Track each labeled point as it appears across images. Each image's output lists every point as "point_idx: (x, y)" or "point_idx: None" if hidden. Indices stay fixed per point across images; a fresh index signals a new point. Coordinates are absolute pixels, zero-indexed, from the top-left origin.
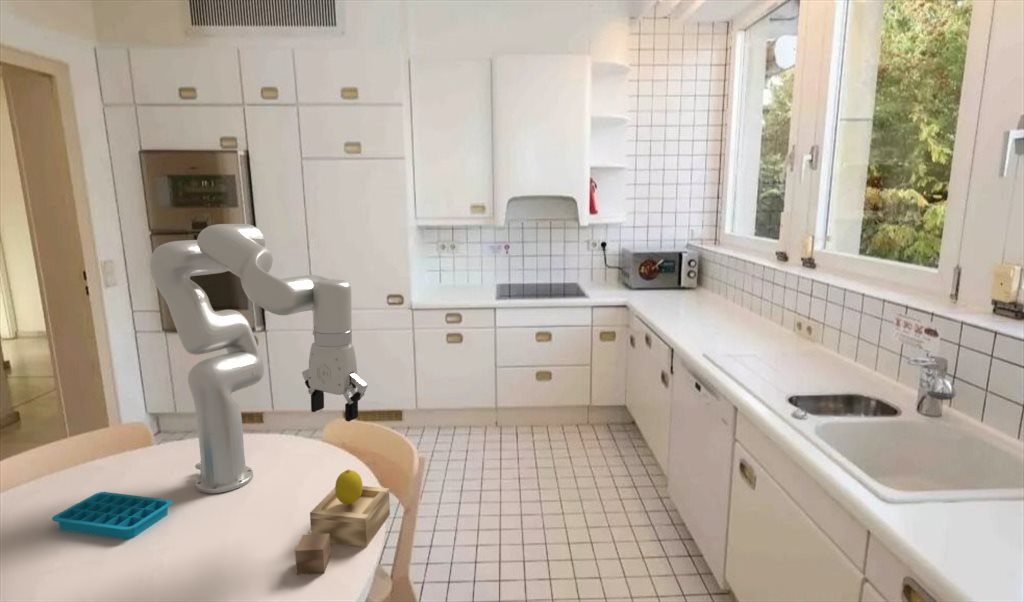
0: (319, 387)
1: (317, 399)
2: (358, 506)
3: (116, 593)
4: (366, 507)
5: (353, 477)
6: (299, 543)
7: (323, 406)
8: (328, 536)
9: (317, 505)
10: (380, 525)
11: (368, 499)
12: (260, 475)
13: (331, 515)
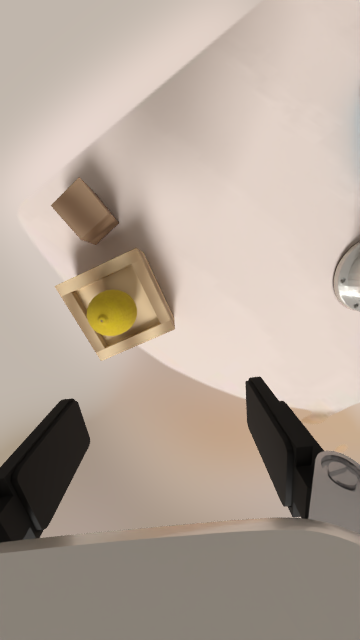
0: (192, 585)
1: (269, 440)
2: None
3: (256, 5)
4: None
5: (88, 316)
6: (91, 193)
7: (249, 427)
8: (76, 234)
9: (145, 269)
10: None
11: None
12: (334, 312)
13: (103, 263)
